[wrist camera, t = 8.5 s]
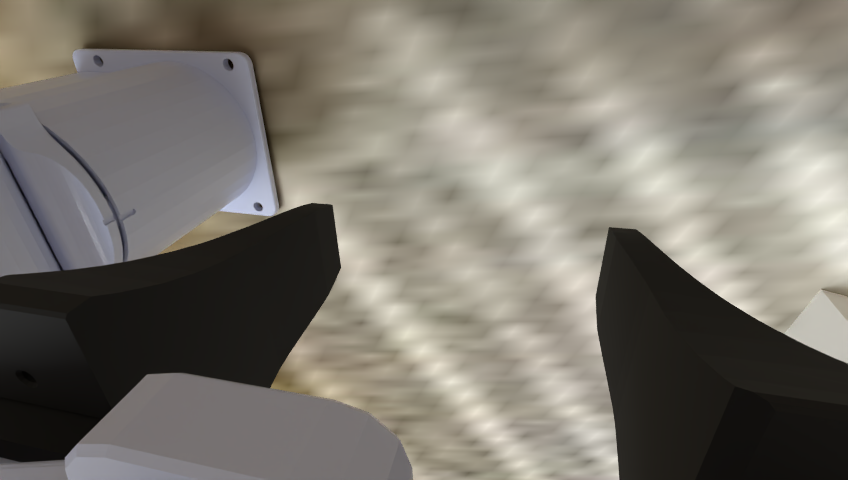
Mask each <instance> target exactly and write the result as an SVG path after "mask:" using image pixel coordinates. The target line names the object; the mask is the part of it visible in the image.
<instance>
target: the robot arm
mask: <svg viewBox="0 0 848 480" xmlns="http://www.w3.org/2000/svg"><path fill="white" fill-rule="evenodd" d="M100 58H101V59H102V60H103V63H102V62H101V60H100ZM228 59H230V60H231V61H232V62H233V65H234V68H233V69H232V68H231V67H230V66H229V64H228ZM73 61H74V63H75V66H76V69H77V72H78V73H74V74H70V75H65V76H60V77H55V78H50V79H46V80H41V81H36V82H31V83H26V84H22V85H17V86H12V87H7V88H2V89H0V480H413V473H412V466H411V464H410V462H409V460H408V457H407V455H406V453H405V450H404V448H403V446H402V444H401V441H400V440H399V438H398V437H397V436H396V435H395V434H394V433H393V432H392V431H391V430H389V429H388V428H387V427H386V426H385V425H383V424H382V423H381V422H380V421H379V420H377V419H376V418H375V417H374V416H372V415H371V414H370V413H369V412H366V411H363V410H361V409H358V408H355V407H352V406H350V405H347V404H344V403H342V402H339V401H336V400H333V399H327V398H321V397H316V396H310V395H305V394H299V393H293V392H288V391H282V390H276V389H271V388H270V387H271V385H272V383H273V381H274V379H275V377H276V375H277V373H278V371H279V369H280V368H281V366H282V364H283V363H284V361H285V360H286V358H287V356H288V355H289V353H290V352H291V350H292V349H293V347H294V346H295V344H296V343H297V341H298V340H299V338H300V337H301V335H302V334H303V333H304V331H305V330H306V328H307V327H308V325H309V324H310V322H311V321H312V319H313V318H314V316H315V315H316V313H317V312H318V310H319V309H320V307H321V306H322V304H323V303H324V301H325V300H326V298H327V296H328V295H329V293H330V291H331V289H332V286H333V284H334V282H335V280H336V278H337V275H338V273H339V271H340V269H341V264H340V257H339V250H338V242H337V235H336V228H335V220H334V213H333V205H329V204H317V203H311V204H306V205H303V206H300V207H297V208H294V209H291V210H289V211H286V212H283V213H281V214H278V215H276V216H273V215H274V214H275V213H277V212H278V210H279V203H278V198H277V192H276V187H275V182H274V176H273V171H272V166H271V160H270V155H269V149H268V144H267V139H266V133H265V128H264V123H263V117H262V112H261V107H260V101H259V96H258V90H257V85H256V80H255V74H254V69H253V64H252V61H251V59H250V57H249V56H248V55H247V54H245V53H243V52H225V51H178V50H131V49H77V50H75V51H74V52H73ZM258 203H260V204H261V205H262V207H263V208H261V207H260V206H259V205H258ZM218 211H225V212H235V213H245V214H255V215H264V216H273V217H271V218H268V219H266V220H263V221H261V222H259V223H256V224H254V225H251V226H249V227H246V228H243V229H240V230H238V231H235V232H232V233H230V234H227V235H224V236H222V237H219V238H216V239H213V240H210V241H207V242H204V243H201V244H198V245H194V246H191V247H187V248H183V249H180V250H176V251H172V252H169V253H164V254H159V253H160V252H162V251H163V250H165V249H166V248H167V247H169V246H170V245H172V244H173V243H174V242H176V241H177V240H179V239H180V238H181V237H183V236H184V235H186V234H187V233H188V232H190V231H191V230H193V229H194V228H195V227H197V226H198V225H200V224H201V223H202V222H204V221H205V220H207V219H208V218H209V217H211V216H212V215H214V214H215V213H216V212H218ZM157 254H159V255H157ZM596 314H597V330H598V336H599V341H600V346H601V351H602V356H603V361H604V366H605V371H606V376H607V381H608V386H609V391H610V396H611V401H612V406H613V413H614V419H615V428H616V440H617V452H618V465H619V479H620V480H848V363H845V362H843V361H840V360H838V359H836V358H833V357H831V356H829V355H826V354H824V353H822V352H820V351H818V350H815V349H813V348H811V347H809V346H807V345H805V344H803V343H801V342H799V341H797V340H795V339H793V338H791V337H789V336H787V335H785V334H783V333H781V332H779V331H777V330H775V329H773V328H771V327H769V326H768V325H766V324H764V323H762V322H760V321H758V320H757V319H755V318H753V317H752V316H750V315H748V314H747V313H745V312H743V311H742V310H740V309H739V308H737V307H735V306H734V305H732V304H730V303H729V302H727V301H726V300H724V299H723V298H721V297H720V296H718V295H717V294H715V293H714V292H713V291H711V290H710V289H708V288H707V287H706V286H704V285H703V284H702V283H700V282H699V281H698V280H696V279H695V278H694V277H692V276H691V275H690V274H689V273H687V272H686V271H685V270H684V269H682V268H681V267H680V266H679V265H677V264H676V263H675V262H674V261H673V260H671V259H670V258H669V257H668V256H667V255H666V254H664V253H663V252H662V251H661V250H660V249H659V248H658V247H657V246H655V245H654V244H653V243H652V242H651V241H650V240H649V239H647V238H646V237H645V236H644V235H643V234H641V233H640V232H639V231H638V230H636V229H623V228H611V227H609V230H608V236H607V241H606V246H605V251H604V256H603V261H602V267H601V272H600V277H599V282H598V287H597V292H596Z"/></svg>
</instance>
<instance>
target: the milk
mask: <svg viewBox="0 0 848 480" xmlns="http://www.w3.org/2000/svg"><path fill="white" fill-rule="evenodd" d="M784 334H785V335H787V336H789V337H791V338H793V339H795V340H797V341H799V342H801V343H803V344H805V345H807V346H809V347H811V348H813V349H815V350H818V351H820V352H822V353H824V354H826V355H829V356H831V357H833V358H836V359H838V360H840V361H843V362H845V363H848V297H847V296H844V295H840V294H837V293H833V292H829V291H826V290H822V289H820V291H819V292H818V293H817V294H816V295H815V297H814V298H813V299H812V300H811V302H810V303H809V304H808V305H807V306H806V308H805V309H804V310H803V311H802V313H801V314H800V315H799V316H798V317H797V319H796V320H795V321H794V322H793V324H792V325H791V326H790V327H789V328H788V330H787V331H786V332H785V333H784Z"/></svg>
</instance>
